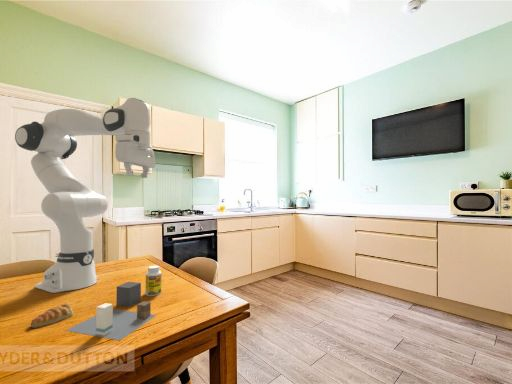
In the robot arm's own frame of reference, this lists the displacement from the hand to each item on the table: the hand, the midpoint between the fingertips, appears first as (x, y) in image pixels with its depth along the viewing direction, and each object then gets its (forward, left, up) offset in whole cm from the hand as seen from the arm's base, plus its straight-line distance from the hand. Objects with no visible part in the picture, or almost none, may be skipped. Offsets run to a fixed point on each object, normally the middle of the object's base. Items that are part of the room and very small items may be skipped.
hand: (137, 176), depth 95 cm
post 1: (+13, -26, -44) cm, 52 cm away
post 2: (+17, -16, -44) cm, 50 cm away
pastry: (-8, -24, -45) cm, 51 cm away
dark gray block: (+5, -9, -44) cm, 45 cm away
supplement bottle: (+7, +1, -45) cm, 45 cm away
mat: (+11, -21, -44) cm, 50 cm away
